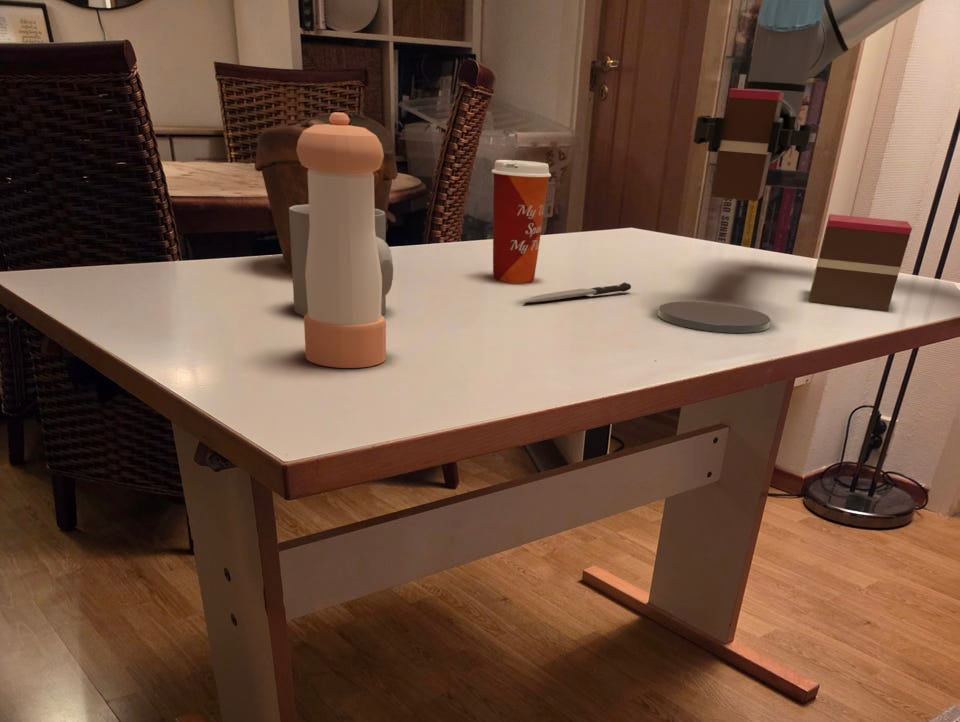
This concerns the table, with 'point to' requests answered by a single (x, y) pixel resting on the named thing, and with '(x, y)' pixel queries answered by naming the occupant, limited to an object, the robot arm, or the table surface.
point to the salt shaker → (342, 246)
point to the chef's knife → (580, 292)
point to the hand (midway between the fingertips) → (745, 135)
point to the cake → (859, 261)
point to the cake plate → (714, 317)
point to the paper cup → (517, 218)
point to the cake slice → (746, 144)
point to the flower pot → (291, 178)
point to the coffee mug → (300, 247)
